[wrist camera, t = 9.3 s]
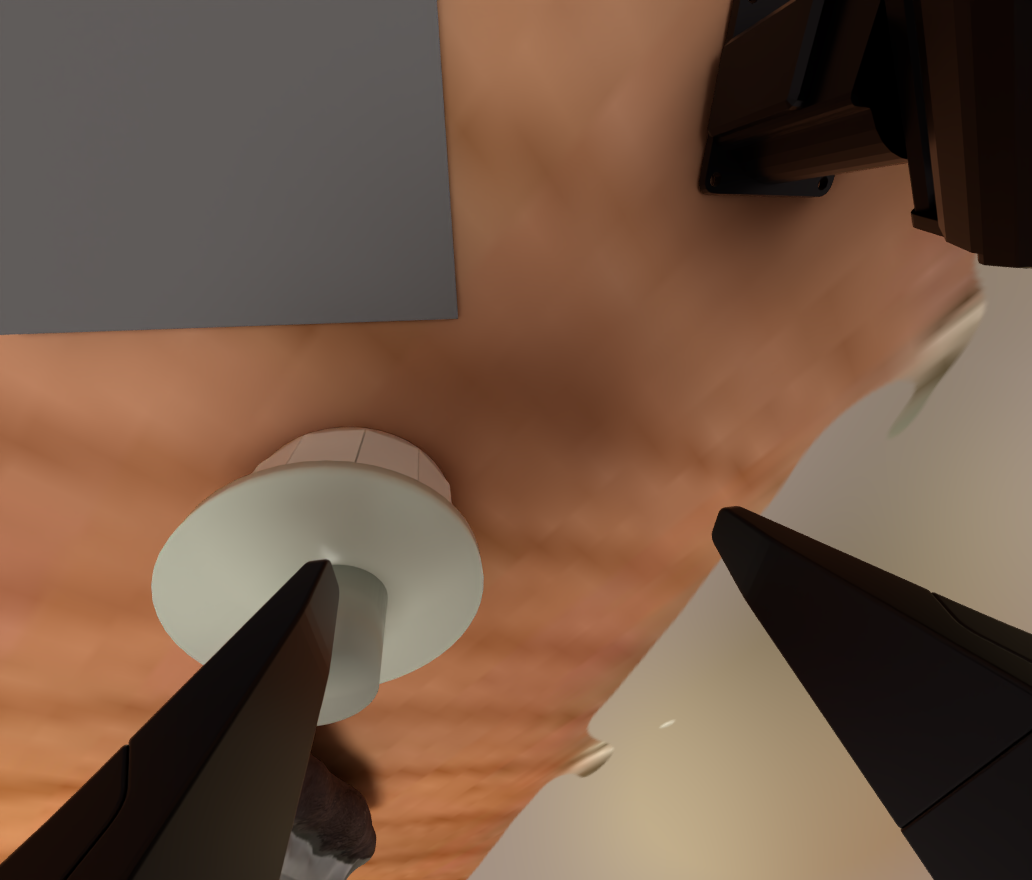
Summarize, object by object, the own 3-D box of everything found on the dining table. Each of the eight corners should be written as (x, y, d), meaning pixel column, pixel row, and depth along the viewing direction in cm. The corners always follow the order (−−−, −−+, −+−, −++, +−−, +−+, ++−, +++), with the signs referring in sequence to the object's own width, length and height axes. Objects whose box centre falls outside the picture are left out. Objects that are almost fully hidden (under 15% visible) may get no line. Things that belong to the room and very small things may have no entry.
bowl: (443, 418, 19) (448, 470, 15) (457, 563, 24) (464, 635, 19) (220, 437, 17) (151, 503, 13) (283, 590, 22) (248, 676, 18)
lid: (472, 443, 14) (490, 519, 10) (486, 643, 20) (500, 740, 16) (101, 482, 12) (-50, 595, 8) (233, 693, 18) (180, 820, 14)
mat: (410, -351, 9) (409, -412, 9) (456, 314, 17) (458, 318, 16) (-552, -626, 6) (-704, -761, 6) (19, 329, 14) (-9, 334, 13)
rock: (399, 794, 36) (392, 926, 29) (276, 836, 34) (238, 983, 28) (317, 689, 27) (280, 844, 20) (147, 741, 26) (45, 924, 19)
